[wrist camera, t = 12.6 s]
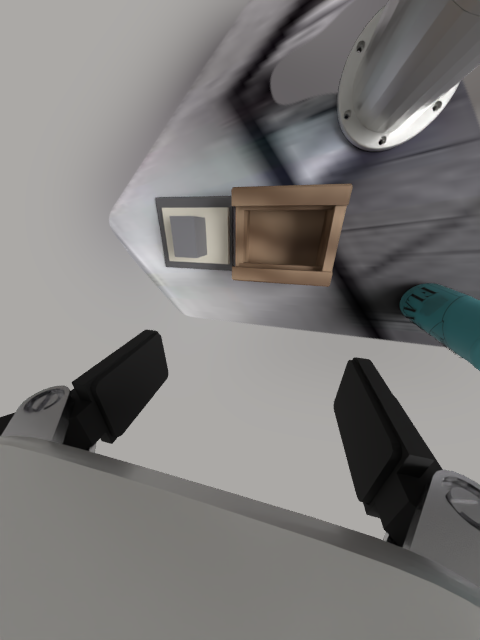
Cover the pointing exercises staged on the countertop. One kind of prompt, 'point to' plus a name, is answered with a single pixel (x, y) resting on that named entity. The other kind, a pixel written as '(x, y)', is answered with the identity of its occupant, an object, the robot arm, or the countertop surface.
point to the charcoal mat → (195, 203)
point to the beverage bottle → (446, 318)
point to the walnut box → (288, 232)
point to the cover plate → (212, 233)
